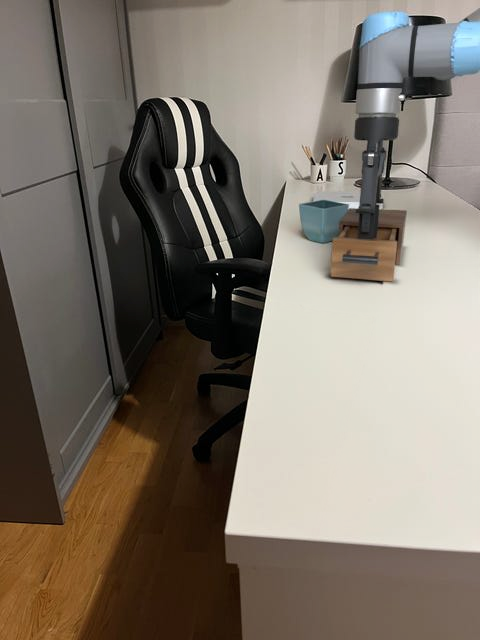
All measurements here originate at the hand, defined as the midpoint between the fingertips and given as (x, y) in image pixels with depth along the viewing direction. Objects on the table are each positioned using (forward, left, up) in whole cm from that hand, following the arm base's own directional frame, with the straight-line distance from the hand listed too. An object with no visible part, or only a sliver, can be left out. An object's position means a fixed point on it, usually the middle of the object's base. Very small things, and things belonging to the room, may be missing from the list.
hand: (367, 242), depth 96 cm
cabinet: (0, -12, -6) cm, 14 cm away
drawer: (0, +2, -5) cm, 6 cm away
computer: (+14, -74, -6) cm, 76 cm away
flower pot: (+13, -24, -6) cm, 28 cm away
